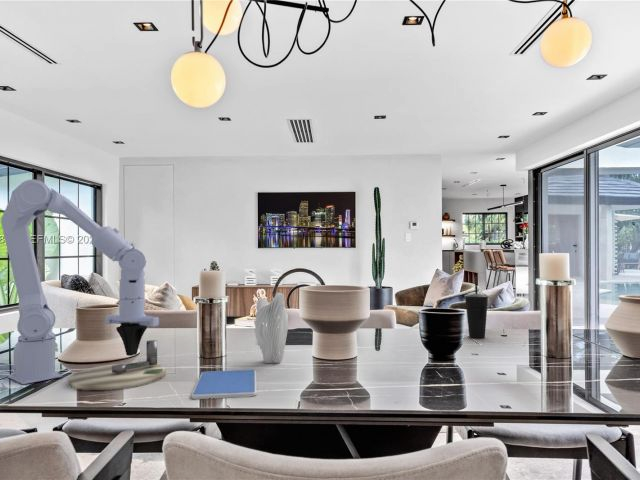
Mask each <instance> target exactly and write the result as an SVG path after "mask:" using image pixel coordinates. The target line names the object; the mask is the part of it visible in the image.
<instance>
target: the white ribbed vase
mask: <svg viewBox="0 0 640 480" xmlns="http://www.w3.org/2000/svg"><path fill="white" fill-rule="evenodd" d="M254 327H255V328H254V334H255V338H256V339H257V343H258V345H259V349H260V350H261V351H260V352H261V354H262V359H263V362H264V363H266V364H279V363H282V362H283V359H284V356H285V349H286V348H285V347H286V341H287V335H288V329H289V315H288V312H287V308H286V307H285V295H284V293H282V292H276V293H275V295H274V297H273V298H272V301H270V302H269V301H268V300H267V299H266V298H263V297H258V300H257V301H256V312H255V320H254Z"/></svg>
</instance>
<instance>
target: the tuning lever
mask: <svg viewBox="0 0 640 480" xmlns="http://www.w3.org/2000/svg"><path fill="white" fill-rule="evenodd" d="M130 363H131V364H122V363H115V364H116V365H113V366H112V372H113V373H119V372H124V371H126V370H130V369H135V368H140V367H145V366H152V365H158V340H156V339H151V340H146V360H142V361H137V362H130Z"/></svg>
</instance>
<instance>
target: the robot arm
mask: <svg viewBox="0 0 640 480" xmlns="http://www.w3.org/2000/svg"><path fill="white" fill-rule="evenodd" d="M47 211H49V212H50V213H52V214H53V213H54V214H57V215H62V216H64V217H66V218H67V219H68V220H69V221H71V222H72V223H74V224H75V225H76V226H77V227H79V228H80V229H81V230H83V231H84V232H85V233H87V234H88V235H89V236H90V238H91V245H92V246H93V247H95V248H96V249H97V250H98V251H100V252H101V253H102V254H103V255H105V256H106V257H107V258H108V259H109V260H111V261H112V262H118V265H119V267H120V279H119V283H118V284H119V286H118V287H119V291H118V292H119V295H118V296H119V297H118V298H119V302H118V306H119V307H118V314H110V315H106V316H105V324H107V325H110V324H115V325H119V326H116V327H115V328H116V332H117V333H118V334H119V337H120V338H121V340H122V344H123V348H124V351H125V354H126V356H129V357H132V356H134V355H135V356H136V355H137V354H138V350H139V346H140V343H141V340H142V337H143V336H144V333H145V332H146V330H147V328H148V326H149V327H157V326H159V325H160V317H157V316H149V315H147V314H145V313H146V311H145V306H146V305H145V303H146V302H145V301H146V300H145V297H146V293H145V290H146V288H145V287H146V285H145V282H146V281H145V270H144V269H145V268H146V267H145V266H146V264H147V260H146V256H145V254H144V253H143V252H142V251H140V250H139V249H137V248H134V247H135V243H133V242H131V243H130V242H129V241H128V240H126V239H125V238H124V237H123V236H122V235H121V234H119V233H120V231H119V229H117V228H114V227H113V228H112V227H111V226H100V225H99V224H98V223H97V222H95V220H94V219H92V218H91V217H90V216H89V215H88V214H86V213H85V212H84V211H83V210H82V209H81V208H80V207H78V206H77V205H76V204H75V203H74V202H72V201H71V200H70V199H69V198H67V196H65V195H63V194H61V193H60V192H58V191H56V190H55V189H53V188H50V187H48V185H47V184H46V183H44V182H43V181H41V180H39V179H33V178H32V179H28V180H27V179H26V180H24V181H23V182H21V183H19V185H18V186H16V188H15V189H13V190H12V191H11V194H10V198H9V201H8V203H7V205H6V208H5V210H4V212H3V213H2V216H1V217H0V218H1V219H0V223H1V228H2V232H3V233H2V234H3V236H4V241H5V245H6V249H7V254H8V257H9V261H10V262H9V263H10V267H11V270H12V271H11V272H12V275H13V278H14V284H15V289H16V292H17V296H18V312H19V318H18V320H17V321H18V322H17V325H16V326H17V327H16V328H17V331H18V333H19V335H18V337H17V342H16V343H15V345H14V348H13V363H12V364H13V372H12V373H13V374H8V378H9V379H11V380H14V381H15V382H17V383H19V384H21V385H26V384H27V385H28V384H31V383H36V382H42V381H46V380H53V379H59V378H61V377H63V374H61V373H58V372H56V333H54V332H53V331H52V330H51V329H53V327H54V325H55V324H56V314H55V313H54V311H53V310H52V309H51V308H50V307H49V304H48V301H47V298H46V296H45V294H44V290H43V286H42V281H41V276H40V272H39V269H38V265H37V260H36V255H35V251H34V247H33V243H32V239H31V238H32V237H31V233H30V228H29V226H30V225H31V224H32V223H33V221H34V220H35V219H36V218H37V217H38V216H39V215H41V214H43V213H44V212H47Z"/></svg>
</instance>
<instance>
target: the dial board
mask: <svg viewBox="0 0 640 480" xmlns="http://www.w3.org/2000/svg"><path fill="white" fill-rule="evenodd" d="M131 363H132V362H126V363H121V364H131ZM116 364H117V363H115V364H107V365H106V364H105V365H99V366H95V367H90V368H86V369H83V370H80V371H77V372H74V373H72V374H71V375H70V376H69V377H68V378H67V379H68V380H67V382H68V386H69V385H70V386H71V388H72V387H73V388H72V389H75V388H77V389H76V390H79V389H82V391H89V390H105V391H114V390H113V389H118V390H123V389H122V388H126V389H131V388H130V387H132V388H136V386H138V387H141V386H140V385H142V386H145V385H144V384H146V385H149V384H148V383H150V384H152V383H151V382H153V383H155V382H154V381H156V380H158V379H160V378H162V377H163V376H166V375H165V374H167V369H166V367H165V366H164V365H161V364H157V365H152V366H145V367H140V368H135V369H130V370H126V371H124V372H119V373H113V372H112V366H113V365H116ZM163 378H164V377H163ZM163 378H162V379H163ZM160 380H161V379H160ZM158 381H159V380H158ZM156 382H157V381H156ZM70 386H69V387H70Z"/></svg>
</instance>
